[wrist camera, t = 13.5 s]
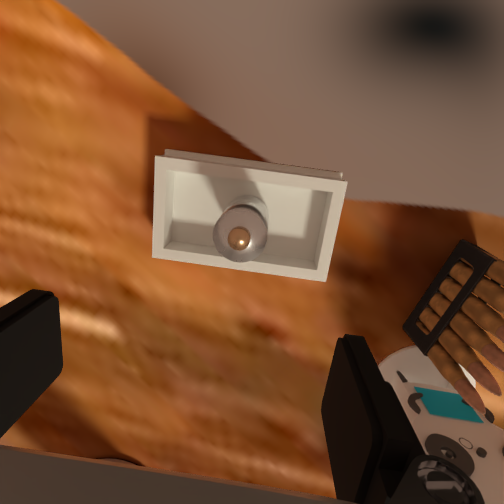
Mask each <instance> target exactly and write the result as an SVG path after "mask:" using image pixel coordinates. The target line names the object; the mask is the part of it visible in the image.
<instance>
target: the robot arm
mask: <svg viewBox="0 0 504 504" xmlns="http://www.w3.org/2000/svg"><path fill="white" fill-rule="evenodd" d="M62 368H63V356H62V342H61V328H60V313H59V301H58V298H57V297H55V296H54V294H53V293H52V292H50V291H43V290H37V289H32V290H30V291H28V292H26V293H24V294H23V295H21V296H19V297H18V298H16V299H14V300H13V301H11V302H9V303H8V304H6V305H4V306H3V307H1V308H0V438H1V437H2V436H3V435H4V434H5V433H6V432H7V431H8V429H9V428H10V427H11V426H12V425H13V424H14V423H15V422H16V421H17V420H18V419H19V418H20V417H21V416H22V414H23V413H24V412H25V411H26V410H27V409H28V408H29V407H30V406H31V405H32V404H33V403H34V402H35V401H36V399H37V398H38V397H39V396H40V395H41V394H42V393H43V392H44V391H45V390H46V389H47V388H48V387H49V386H50V384H51V383H52V382H53V381H54V380H55V379H56V378H57V377H58V376H59V375H60V373H61V371H62ZM321 414H322V420H323V425H324V431H325V436H326V442H327V447H328V453H329V458H330V464H331V469H332V475H333V480H334V486H335V492H336V497H337V499H334V498H329V497H325V496H319V495H314V494H309V493H303V492H297V491H291V490H286V489H280V488H274V487H269V486H263V485H257V484H251V483H244V482H238V481H232V480H226V479H219V478H213V477H207V476H201V475H194V474H188V473H182V472H175V471H169V470H163V469H156V468H150V467H143V466H137V465H135V464H133V463H130V462H127V461H124V460H119V459H108V458H106V459H91V458H85V457H78V456H72V455H65V454H59V453H52V452H45V451H38V450H32V449H25V448H18V447H11V446H4V445H0V504H485V502H484V499H483V497H482V494H481V492H480V490H479V489H478V487H477V486H476V484H475V483H474V482H473V480H472V479H471V478H470V477H469V476H468V475H467V474H466V473H465V472H464V471H462V470H461V469H460V468H458V467H457V466H456V465H454V464H453V463H451V462H449V461H447V460H445V459H443V458H440V457H437V456H434V455H426V453H425V451H424V449H423V447H422V445H421V443H420V441H419V439H418V437H417V435H416V433H415V431H414V429H413V427H412V425H411V423H410V421H409V419H408V417H407V415H406V413H405V411H404V409H403V407H402V405H401V403H400V401H399V399H398V397H397V395H396V393H395V391H394V389H393V387H392V385H391V384H390V383H389V382H387V381H385V380H384V378H383V376H382V374H381V372H380V370H379V368H378V366H377V363H376V361H375V359H374V357H373V355H372V353H371V351H370V349H369V347H368V345H367V343H366V340H365V338H364V337H363V336H356V335H349V334H345V335H344V337H343V338H338V340H337V343H336V347H335V351H334V355H333V359H332V364H331V368H330V372H329V376H328V380H327V384H326V388H325V392H324V396H323V401H322V407H321Z"/></svg>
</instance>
